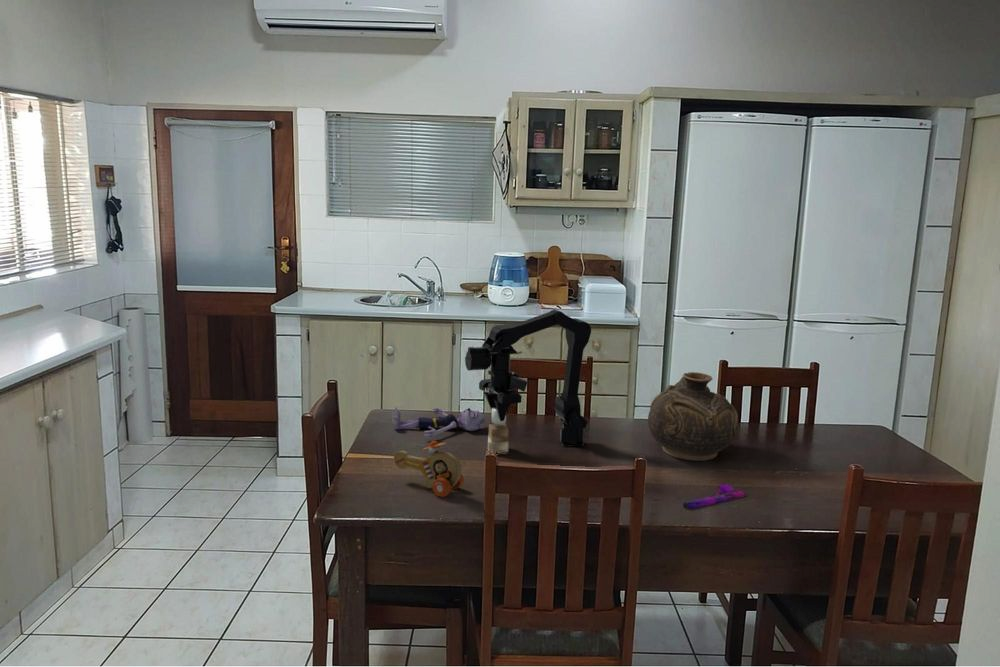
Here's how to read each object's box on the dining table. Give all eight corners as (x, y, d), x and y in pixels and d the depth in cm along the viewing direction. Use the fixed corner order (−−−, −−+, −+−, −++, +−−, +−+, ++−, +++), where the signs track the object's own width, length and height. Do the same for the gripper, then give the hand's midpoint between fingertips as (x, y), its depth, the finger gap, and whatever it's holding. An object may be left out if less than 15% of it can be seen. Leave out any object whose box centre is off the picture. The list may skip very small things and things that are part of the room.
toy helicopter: (450, 500, 193) (451, 449, 190) (385, 483, 203) (385, 434, 200) (467, 489, 200) (468, 440, 197) (404, 473, 210) (404, 426, 207)
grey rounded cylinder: (505, 419, 230) (505, 406, 229) (506, 424, 226) (506, 411, 225) (490, 419, 230) (491, 406, 229) (491, 423, 225) (492, 411, 225)
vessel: (682, 430, 253) (692, 359, 247) (752, 460, 231) (765, 383, 226) (625, 444, 237) (634, 368, 231) (695, 478, 216) (707, 395, 210)
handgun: (725, 488, 208) (726, 481, 207) (746, 498, 201) (747, 491, 201) (668, 500, 198) (668, 493, 198) (688, 511, 191) (689, 504, 191)
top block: (504, 435, 232) (505, 423, 231) (508, 441, 227) (508, 428, 226) (488, 436, 231) (489, 424, 230) (491, 442, 226) (492, 429, 225)
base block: (507, 448, 233) (507, 435, 232) (508, 455, 227) (508, 442, 226) (487, 447, 232) (488, 435, 232) (488, 454, 227) (488, 442, 226)
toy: (399, 398, 261) (485, 391, 260) (402, 423, 263) (488, 417, 261) (386, 421, 235) (482, 414, 234) (390, 449, 237) (485, 442, 236)
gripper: (538, 373, 219) (536, 424, 222) (511, 359, 236) (510, 407, 239) (503, 376, 215) (502, 428, 218) (478, 362, 232) (477, 410, 235)
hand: (498, 418), depth 228 cm, fingers closed on grey rounded cylinder, 4 cm apart
